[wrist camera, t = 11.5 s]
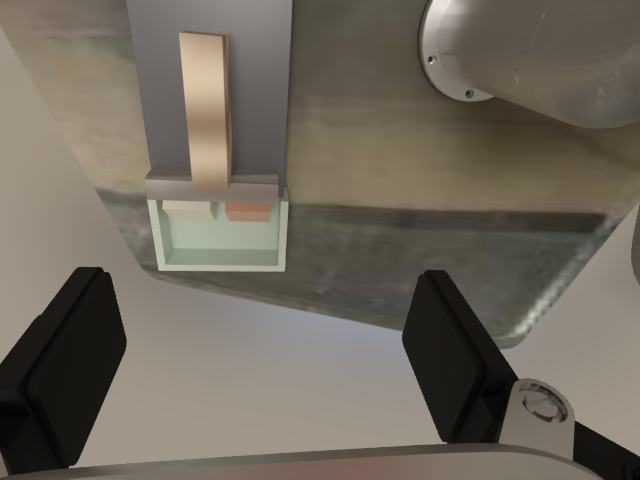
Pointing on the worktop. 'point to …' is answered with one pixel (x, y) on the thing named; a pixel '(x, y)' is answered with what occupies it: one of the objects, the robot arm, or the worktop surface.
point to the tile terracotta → (247, 212)
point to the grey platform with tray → (246, 120)
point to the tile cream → (190, 210)
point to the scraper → (209, 133)
